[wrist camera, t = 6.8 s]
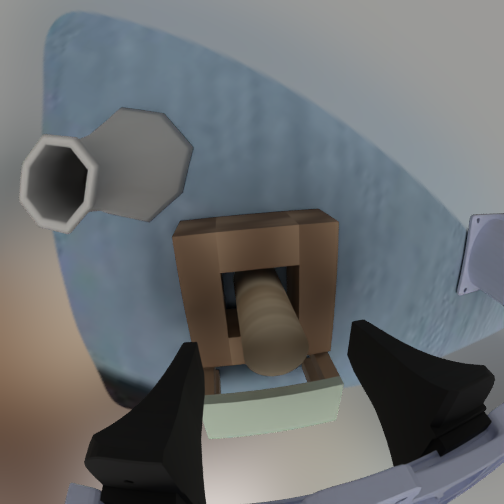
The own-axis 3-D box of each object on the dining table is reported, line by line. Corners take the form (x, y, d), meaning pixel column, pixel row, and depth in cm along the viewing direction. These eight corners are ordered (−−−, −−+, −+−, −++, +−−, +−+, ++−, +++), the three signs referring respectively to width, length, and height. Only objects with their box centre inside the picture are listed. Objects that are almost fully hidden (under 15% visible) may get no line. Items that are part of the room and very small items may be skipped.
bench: (315, 328, 22) (343, 384, 16) (312, 365, 24) (335, 420, 18) (200, 342, 21) (197, 404, 15) (208, 378, 23) (208, 439, 17)
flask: (69, 187, 16) (-31, 228, 7) (119, 90, 15) (34, 47, 5) (156, 239, 18) (105, 325, 9) (213, 142, 17) (208, 132, 7)
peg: (278, 294, 21) (309, 368, 13) (236, 301, 21) (248, 380, 13) (274, 254, 20) (307, 319, 12) (229, 262, 19) (238, 332, 12)
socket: (318, 208, 19) (338, 221, 16) (315, 323, 22) (330, 350, 19) (180, 221, 18) (171, 236, 15) (199, 337, 21) (197, 368, 18)
